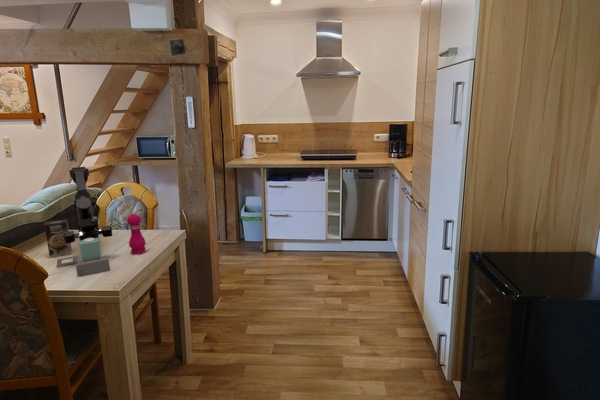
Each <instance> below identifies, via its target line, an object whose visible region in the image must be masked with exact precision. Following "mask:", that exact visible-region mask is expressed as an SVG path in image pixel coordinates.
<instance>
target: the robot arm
mask: <svg viewBox="0 0 600 400" xmlns="http://www.w3.org/2000/svg"><path fill="white" fill-rule="evenodd" d="M68 172H69V177H70V178H71V179H72V181H73V184H75V187H76V191H77V192H76V194H74V198H75V200H73V206H74V209H76V210H77V214H78V222H77V228H78V233H75V231H74V230H69V232H64V234H63V236H64V241H65V243H71V244H72V243H75V242H76V239H79V242H80V241H81V240H84V239H87V238H98V239H99V235H101V236H102V237H103V238H109V237H113V228H112V225H103V226H101V229H100V227H99V225H100V224H99V221H98V216H94V214H93V206H95V204H96V202H95V199H93V198H92V197H91V194H90V193H89V192H88V190H87V182H88V181H89V176H90V171H89V168H87V167H86V166H77V167H71V169H69V170H68ZM100 242H101V240H100V239H99V243H100Z"/></svg>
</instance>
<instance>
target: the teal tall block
mask: <svg viewBox="0 0 600 400" xmlns="http://www.w3.org/2000/svg"><path fill="white" fill-rule="evenodd" d="M98 238H99V237H98ZM98 238H87V239H84V240H81V241H80V240H79V246H80V253H81V259H82V260H81V261H82V263H83V262H88V261H93V260H99V259H103V258H102V252H101V246H100V242H99V241H100V239H98Z"/></svg>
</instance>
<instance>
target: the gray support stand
mask: <svg viewBox="0 0 600 400" xmlns="http://www.w3.org/2000/svg"><path fill="white" fill-rule="evenodd" d="M101 258H102V259H99V260H93V261H88V262H83V260H79V261H78V263H77V264H75V268H76V269H75V270H76V275H77V278H82V277H86V276H90V275H96V274H100V273H105V272H110V271H111V268H110V267H111V265H110V261H109V257H106V256H101Z"/></svg>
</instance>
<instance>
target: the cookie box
mask: <svg viewBox="0 0 600 400" xmlns="http://www.w3.org/2000/svg"><path fill="white" fill-rule="evenodd" d="M43 224H44V232H45V237H46V243H47V248H48V255H49V258H50V259H53V258H57V257H62V256H69V255H73V254H72V253H73V248H72V247H73V246H72V243H65V241H64V236H63V234H64V232H69V231H70V229H69V223H68V218H67V219H59V220H58V219H57V220H51V221H45V222H44V223H43Z"/></svg>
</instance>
